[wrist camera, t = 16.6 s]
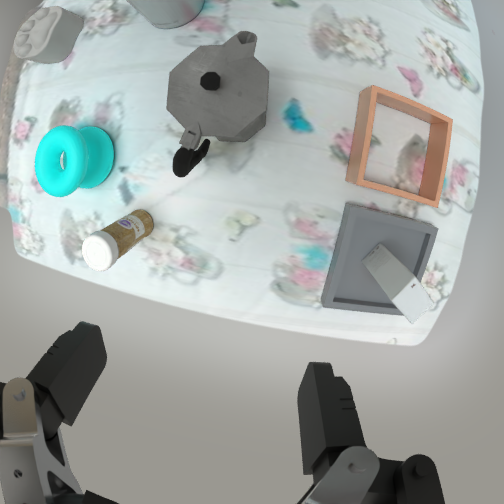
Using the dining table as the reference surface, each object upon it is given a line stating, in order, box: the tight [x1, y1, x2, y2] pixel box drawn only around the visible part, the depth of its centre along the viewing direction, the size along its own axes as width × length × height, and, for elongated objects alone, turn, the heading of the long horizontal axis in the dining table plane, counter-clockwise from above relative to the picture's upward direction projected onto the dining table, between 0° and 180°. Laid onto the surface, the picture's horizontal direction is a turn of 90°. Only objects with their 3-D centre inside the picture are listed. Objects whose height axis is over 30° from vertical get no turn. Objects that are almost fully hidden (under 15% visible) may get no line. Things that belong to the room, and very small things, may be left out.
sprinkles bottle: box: [82, 210, 153, 271], centre depth 34 cm, size 5×5×13 cm
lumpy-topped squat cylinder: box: [14, 6, 84, 64], centre depth 24 cm, size 10×13×9 cm
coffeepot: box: [166, 31, 269, 177], centre depth 26 cm, size 15×9×18 cm, turn 154°
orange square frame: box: [346, 85, 453, 208], centre depth 32 cm, size 14×14×5 cm
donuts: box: [35, 125, 114, 197], centre depth 32 cm, size 10×10×10 cm
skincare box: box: [362, 243, 434, 324], centre depth 34 cm, size 6×4×12 cm
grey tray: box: [321, 203, 438, 316], centre depth 40 cm, size 16×16×2 cm
